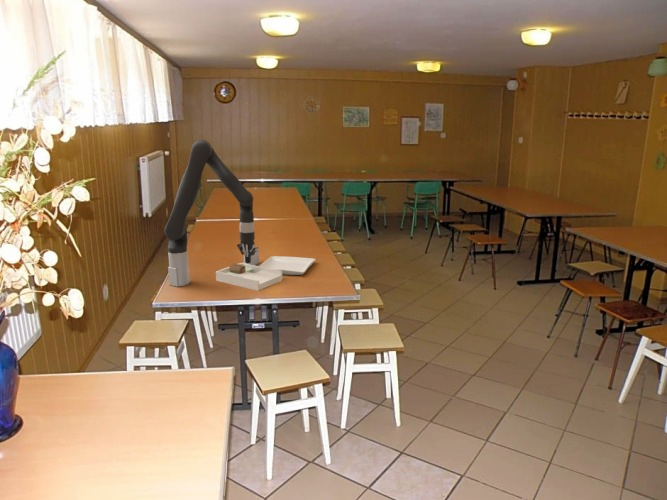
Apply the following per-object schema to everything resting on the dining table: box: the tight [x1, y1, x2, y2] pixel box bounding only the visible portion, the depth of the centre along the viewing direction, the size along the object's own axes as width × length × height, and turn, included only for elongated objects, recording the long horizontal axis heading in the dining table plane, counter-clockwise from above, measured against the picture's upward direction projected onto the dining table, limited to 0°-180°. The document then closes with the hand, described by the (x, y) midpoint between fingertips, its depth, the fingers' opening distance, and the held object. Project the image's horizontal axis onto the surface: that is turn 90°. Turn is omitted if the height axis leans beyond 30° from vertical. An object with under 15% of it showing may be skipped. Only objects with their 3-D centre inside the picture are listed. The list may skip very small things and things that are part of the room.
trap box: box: [215, 262, 284, 292], centre depth 271 cm, size 19×29×5 cm, turn 56°
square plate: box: [259, 255, 317, 276], centre depth 291 cm, size 27×27×4 cm
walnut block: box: [229, 263, 246, 274], centre depth 276 cm, size 4×7×4 cm, turn 56°
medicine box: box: [243, 249, 260, 266], centre depth 298 cm, size 8×4×9 cm, turn 141°
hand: (248, 263), depth 270 cm, fingers closed
